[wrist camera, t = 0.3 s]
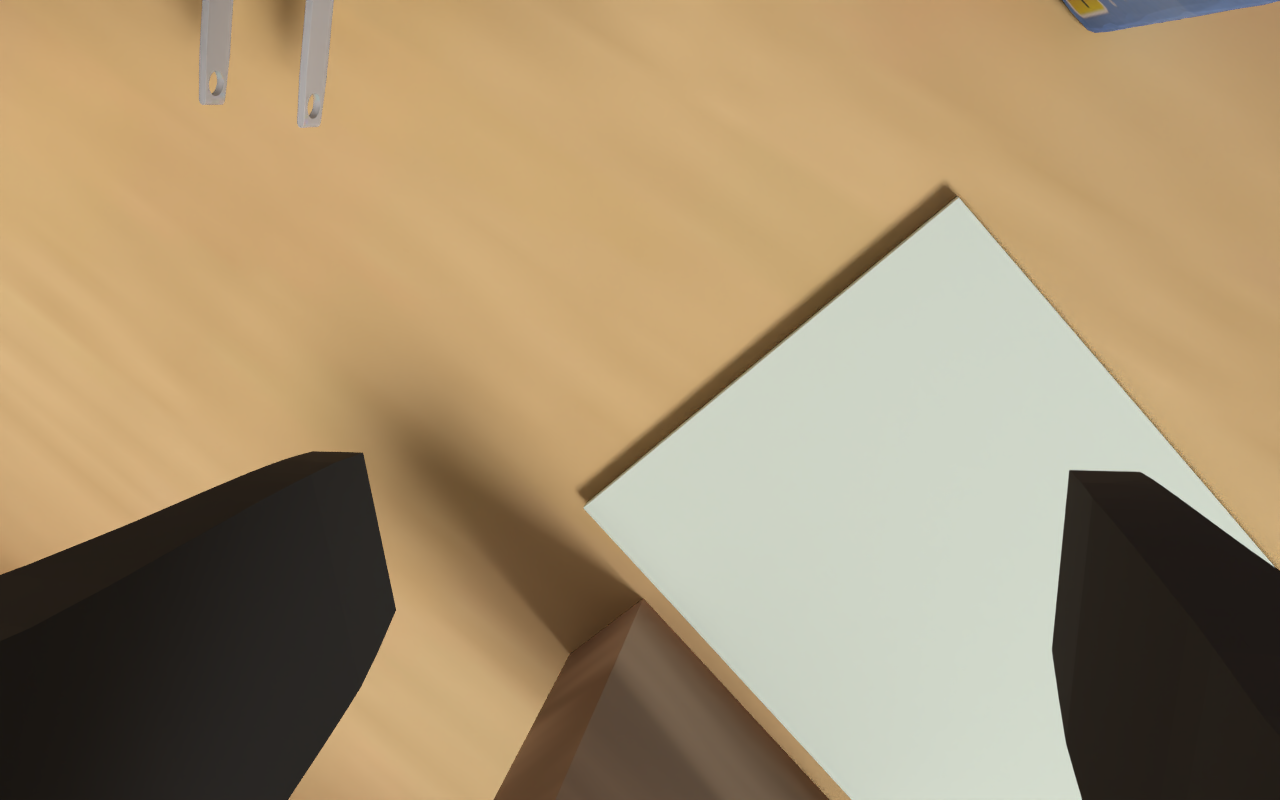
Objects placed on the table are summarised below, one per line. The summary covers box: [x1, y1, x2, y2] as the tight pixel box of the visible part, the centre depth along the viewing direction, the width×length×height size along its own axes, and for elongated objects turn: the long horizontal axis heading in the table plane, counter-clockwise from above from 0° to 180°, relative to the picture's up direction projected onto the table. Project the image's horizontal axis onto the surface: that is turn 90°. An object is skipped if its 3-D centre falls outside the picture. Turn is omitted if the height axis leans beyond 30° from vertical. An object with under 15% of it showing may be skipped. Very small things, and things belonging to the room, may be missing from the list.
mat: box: [584, 196, 1274, 800], centre depth 21 cm, size 10×12×1 cm
